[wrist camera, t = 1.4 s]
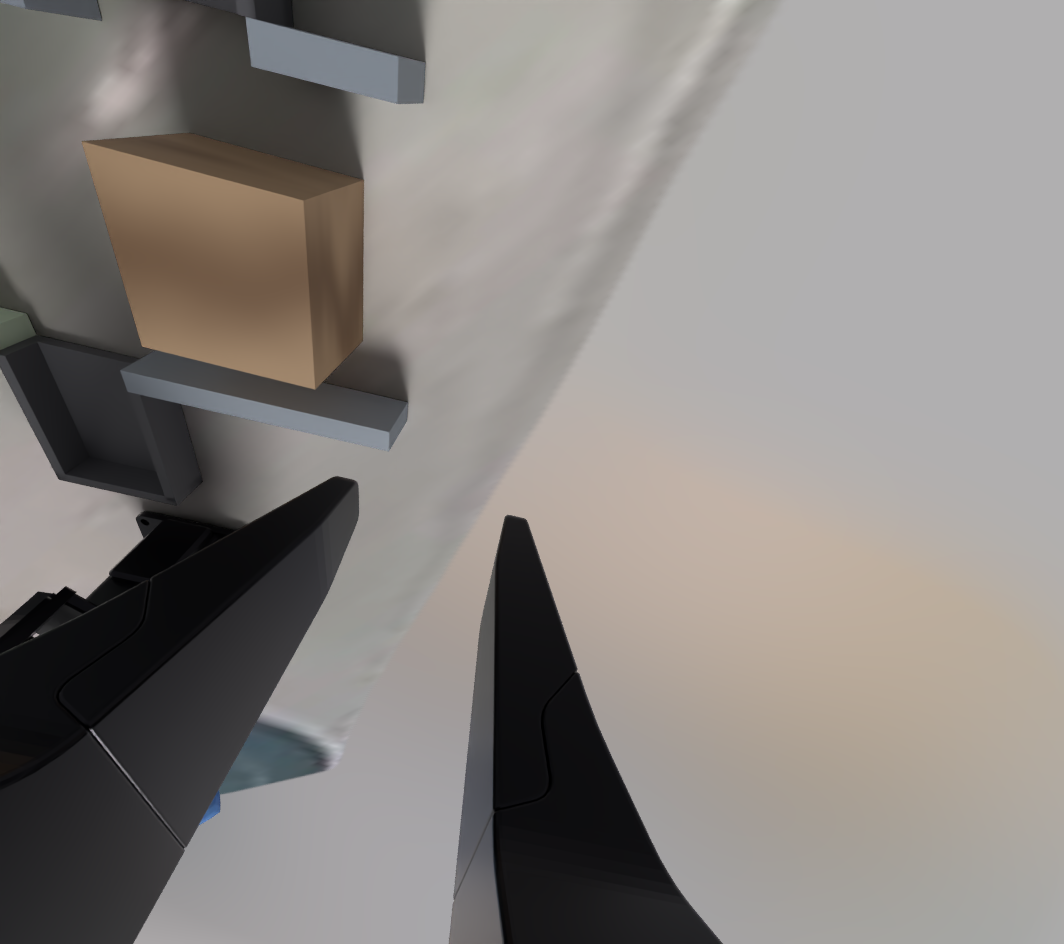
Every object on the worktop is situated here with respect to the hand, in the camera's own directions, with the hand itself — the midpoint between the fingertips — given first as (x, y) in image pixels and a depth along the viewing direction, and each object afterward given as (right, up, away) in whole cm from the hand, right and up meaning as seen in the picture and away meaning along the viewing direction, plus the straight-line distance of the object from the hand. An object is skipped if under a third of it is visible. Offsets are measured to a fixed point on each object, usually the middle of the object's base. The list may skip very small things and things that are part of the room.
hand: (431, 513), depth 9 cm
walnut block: (-7, +9, +9) cm, 15 cm away
